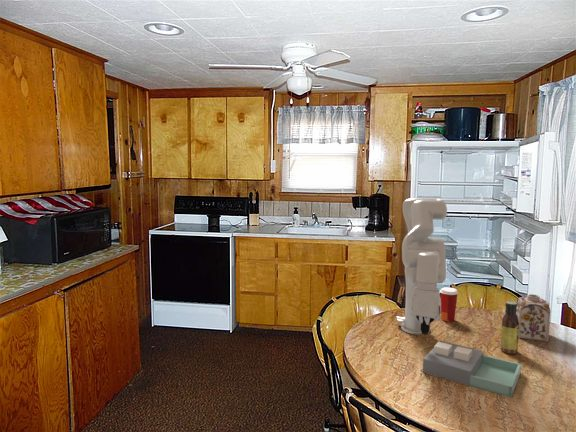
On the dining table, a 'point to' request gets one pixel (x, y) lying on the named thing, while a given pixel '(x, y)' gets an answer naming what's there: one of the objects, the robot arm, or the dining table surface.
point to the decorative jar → (533, 318)
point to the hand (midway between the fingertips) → (424, 333)
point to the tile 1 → (443, 348)
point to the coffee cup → (448, 303)
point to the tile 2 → (462, 353)
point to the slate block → (453, 365)
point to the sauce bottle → (510, 329)
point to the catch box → (497, 376)
